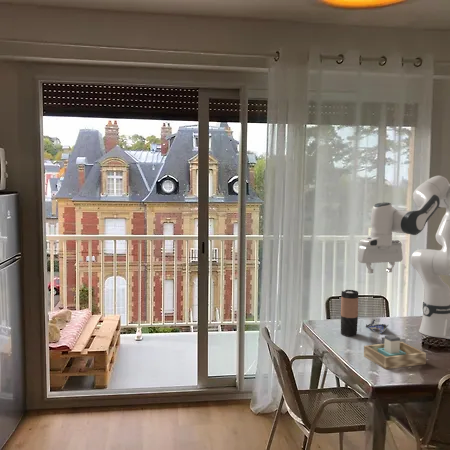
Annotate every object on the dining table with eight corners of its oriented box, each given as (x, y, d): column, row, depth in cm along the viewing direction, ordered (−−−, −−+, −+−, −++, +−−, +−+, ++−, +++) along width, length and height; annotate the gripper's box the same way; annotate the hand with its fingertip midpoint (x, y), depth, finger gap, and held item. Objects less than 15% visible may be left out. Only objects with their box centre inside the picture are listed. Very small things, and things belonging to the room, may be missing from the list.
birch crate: (401, 351, 192) (402, 341, 192) (425, 364, 179) (426, 353, 178) (363, 356, 187) (364, 345, 186) (385, 369, 173) (385, 357, 173)
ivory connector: (392, 357, 184) (393, 334, 183) (399, 360, 180) (400, 337, 179) (383, 358, 182) (384, 335, 182) (390, 361, 179) (391, 338, 178)
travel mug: (357, 337, 211) (359, 293, 209) (340, 336, 212) (341, 292, 211) (356, 332, 218) (357, 290, 217) (339, 331, 220) (341, 289, 218)
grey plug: (399, 344, 201) (399, 335, 201) (405, 347, 197) (405, 338, 197) (381, 346, 198) (381, 337, 198) (387, 349, 195) (387, 340, 194)
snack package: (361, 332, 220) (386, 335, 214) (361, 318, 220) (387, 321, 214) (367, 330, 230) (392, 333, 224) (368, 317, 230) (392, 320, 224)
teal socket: (393, 355, 186) (393, 346, 185) (405, 361, 179) (406, 353, 178) (377, 357, 183) (377, 348, 183) (389, 363, 176) (389, 354, 176)
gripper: (396, 239, 205) (395, 270, 206) (356, 240, 199) (355, 272, 200) (406, 240, 199) (405, 272, 200) (364, 242, 193) (363, 275, 194)
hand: (380, 272), depth 200 cm, fingers open, 8 cm apart
